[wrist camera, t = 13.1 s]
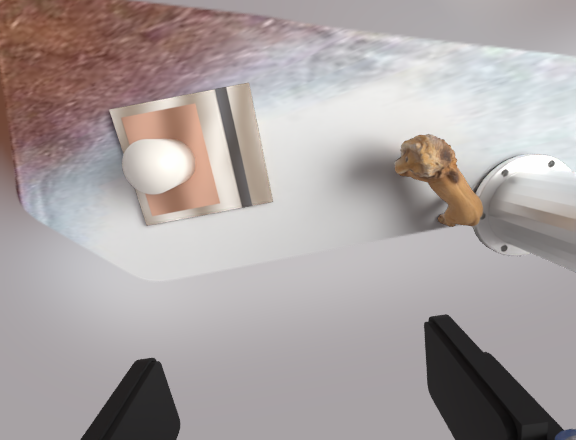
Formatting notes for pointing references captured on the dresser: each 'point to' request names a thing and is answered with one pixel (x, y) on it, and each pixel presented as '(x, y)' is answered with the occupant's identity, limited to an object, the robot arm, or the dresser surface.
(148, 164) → the white rounded cylinder
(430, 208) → the dresser surface
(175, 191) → the board
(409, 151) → the lion figurine
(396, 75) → the dresser surface
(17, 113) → the dresser surface
